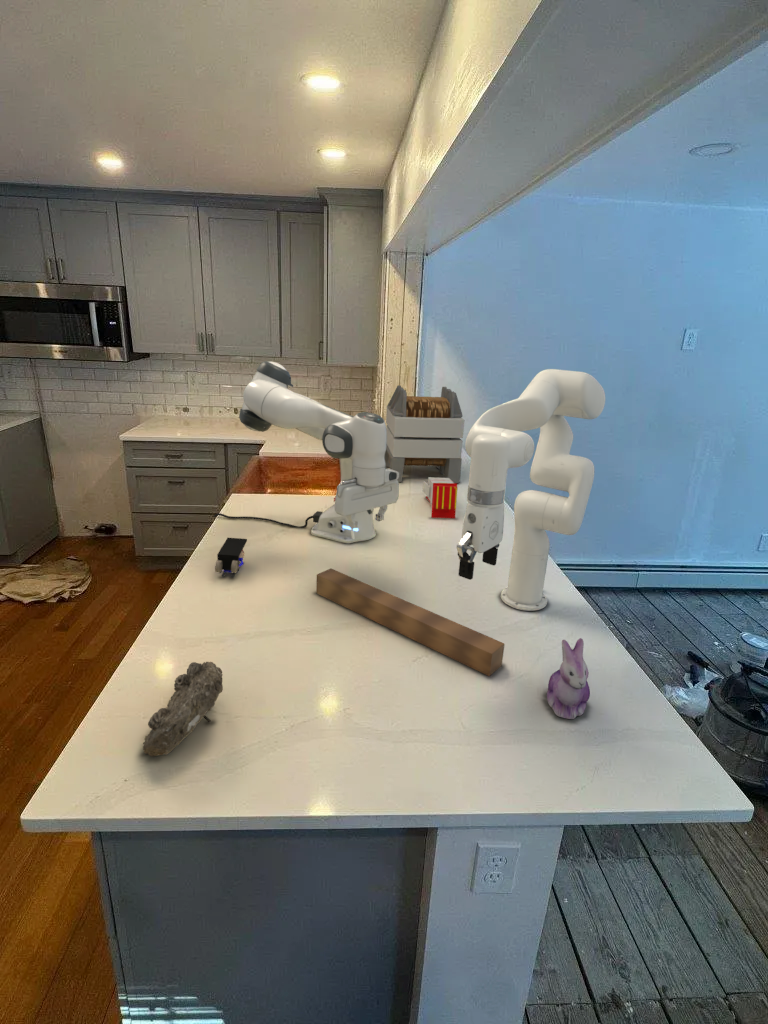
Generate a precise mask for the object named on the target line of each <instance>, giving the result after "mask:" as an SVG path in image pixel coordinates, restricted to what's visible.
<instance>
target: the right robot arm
mask: <svg viewBox="0 0 768 1024" xmlns="http://www.w3.org/2000/svg"><path fill="white" fill-rule="evenodd" d="M605 406H606V393H605V389H604V388H603V386H602V384H601V383H600V382H599V381H598V380H597V378H595V377H594V376H593V375H591V374H590V373H588V372H584V371H578V370H569V369H568V370H567V369H557V368H547V369H543V370H540V371H539V372H538V373H536V375H535V376H534V377H533V378H532V379H531V381H530V382H529V383H528V384H527V386H526V388H524V389H523V391H522V392H521V394H520V395H519V396H518V397H517V398H515V399H511V400H509V401H506V402H504V403H501V404H498V405H496V406H493V407H491V408H489V409H488V410H486V411H484V412H483V413H482V414H481V415H480V416H479V417H478V418H477V420H476V421H475V422H474V423H473V425H472V426H471V428H470V429H469V432H467V435H466V438H465V444H464V445H465V446H464V447H465V451H466V453H467V455H468V456H469V458H470V463H469V475H468V485H467V495H466V502H467V504H466V508H465V511H464V512H465V513H464V518H463V523H462V530H461V539H460V540H459V541H458V543H457V544H456V551H457V556H458V560H459V566H458V577H461V578H464V579H467V580H470V581H471V580H473V578H474V569H475V561H474V559H475V557H476V555H477V553H478V554H482V559H481V560H482V563H485V564H487V565H490V566H496V565H497V561H498V552H499V547H500V545H501V544H500V543H501V542H502V541H503V537H504V528H505V527H504V526H505V494H506V485H507V477H508V470H509V469H515V468H521V467H523V466H525V465H527V463H529V461H531V460H532V458H533V460H532V462H531V466H530V471H529V480H530V481H531V482H532V483H533V484H534V485H536V486H539V487H543V488H548V489H551V490H556V491H562V492H566V493H568V496H564V495H560V494H554V493H551V492H547V491H541V490H536V489H526V490H523V491H521V492H520V493H518V494H517V496H516V498H515V500H514V504H513V516H514V532H513V533H514V534H513V542H512V550H511V558H510V565H509V572H508V573H509V574H508V581H507V586H506V587H505V588H503V589H502V590H501V592H500V599H501V601H502V602H503V603H504V604H506V605H507V606H509V607H511V608H513V609H516V610H521V611H528V612H532V611H533V612H534V611H539V610H542V609H544V608H545V607H546V606H547V605H548V597H547V596H546V594H544V586H545V579H546V574H547V573H546V572H547V567H548V559H549V555H550V554H549V553H550V547H551V546H550V545H551V544H550V537H549V535H548V533H547V531H548V532H551V533H555V534H560V535H565V536H574V535H576V534H577V533H578V532H579V531H580V529H581V526H582V524H583V521H584V517H585V514H586V509H587V506H588V504H589V499H590V495H591V493H592V492H591V491H592V488H593V485H594V479H595V464H594V463H593V461H592V460H591V459H590V458H588V457H585V456H582V455H581V456H580V455H574V454H570V453H571V449H572V445H573V441H574V432H573V429H572V428H571V426H570V424H569V422H568V420H567V419H566V418H567V417H569V418H576V419H583V420H595V419H597V418H598V417H600V416H601V414H602V413H603V411H604V408H605ZM537 429H539V437H538V439H537V440H538V441H537V444H536V448H535V441H534V439H533V438H532V436H531V435H529V434H528V433H527V432H526V431H531V430H532V431H533V430H537ZM468 551H469V552H470V553H468Z"/></svg>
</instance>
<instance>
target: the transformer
mask: <svg viewBox="0 0 768 1024" xmlns="http://www.w3.org/2000/svg"><path fill="white" fill-rule="evenodd" d="M440 393H441V394H440V396H415V395H414V396H413V395H412V396H411V395H407V394H408V393H407V390H406V389H404V388H403V387H402V385H399V384H398V385H397V386H396V388H395V390H394V392H393V394H392V395H391V398H390V400H389V402H388V404H387V405H386V413H385V414H386V415H385V424H386V433H387V443H386V452H385V455H384V459H385V464H386V465H385V467H386V468H389V469H392V470H394V471H397V472H399V478H398V479H397V480H398V482H399V483H402V482H403V475H404V469H405V466H406V467H407V466H411V467H412V466H413V467H415V466H416V467H417V466H418V467H436V468H437V470H438V469H439V473H440V474H441V475H443V478H449V479H450V480H451V481H452V482H453V483H454V484H459V483H461V472H462V461H463V460H462V453H463V442H464V441H463V440H462V439H463V438H464V431H465V430H464V429H465V419H464V418H463V411H462V408H461V405H460V402H459V398H458V395H457V392H455V391H453V390H452V389H451V388H447V386H442V387H441V392H440Z"/></svg>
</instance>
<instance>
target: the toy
mask: <svg viewBox="0 0 768 1024" xmlns="http://www.w3.org/2000/svg"><path fill="white" fill-rule="evenodd" d="M422 493H424V494H425V498H426V500H427V501H428V502H429V504H430V506H431V517H430V518H432V519H456V514H457V513H456V512H457V498H458V483H453V482H452V481H451V480H450V479H449V478H444V477H431V476H430V477H429V476H428V477H427V482H426V481H425V480H423V484H422Z"/></svg>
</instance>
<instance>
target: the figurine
mask: <svg viewBox="0 0 768 1024" xmlns="http://www.w3.org/2000/svg"><path fill="white" fill-rule="evenodd" d="M584 645H585V643H584V639H583V638H582V637H580V638H578V639H577V640H576V642H575V645H574V647H573V648H572V647H571V646H570V643H569V642H568V641H567V640H566V639H562V640H561V653H562V661H561V664H560V666H559V669H558V670H555V671H554V672H553V673H552V674H551V675H550V677H549V679H548V684H547V692H546V700H547V703H548V704H547V705H549V707H550V708H551V709H552V711H553V712H554V714H555V716H558V718H562V719H563V718H564V719H567V720H574V719H576V718H577V717H578V716H582V715H583V714H584V713H585V711H586V707H587V704H588V701H589V699H590V697H591V690H590V684H589V682H588V678H589V669H588V665H587V663H586V661H585V659H584Z"/></svg>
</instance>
